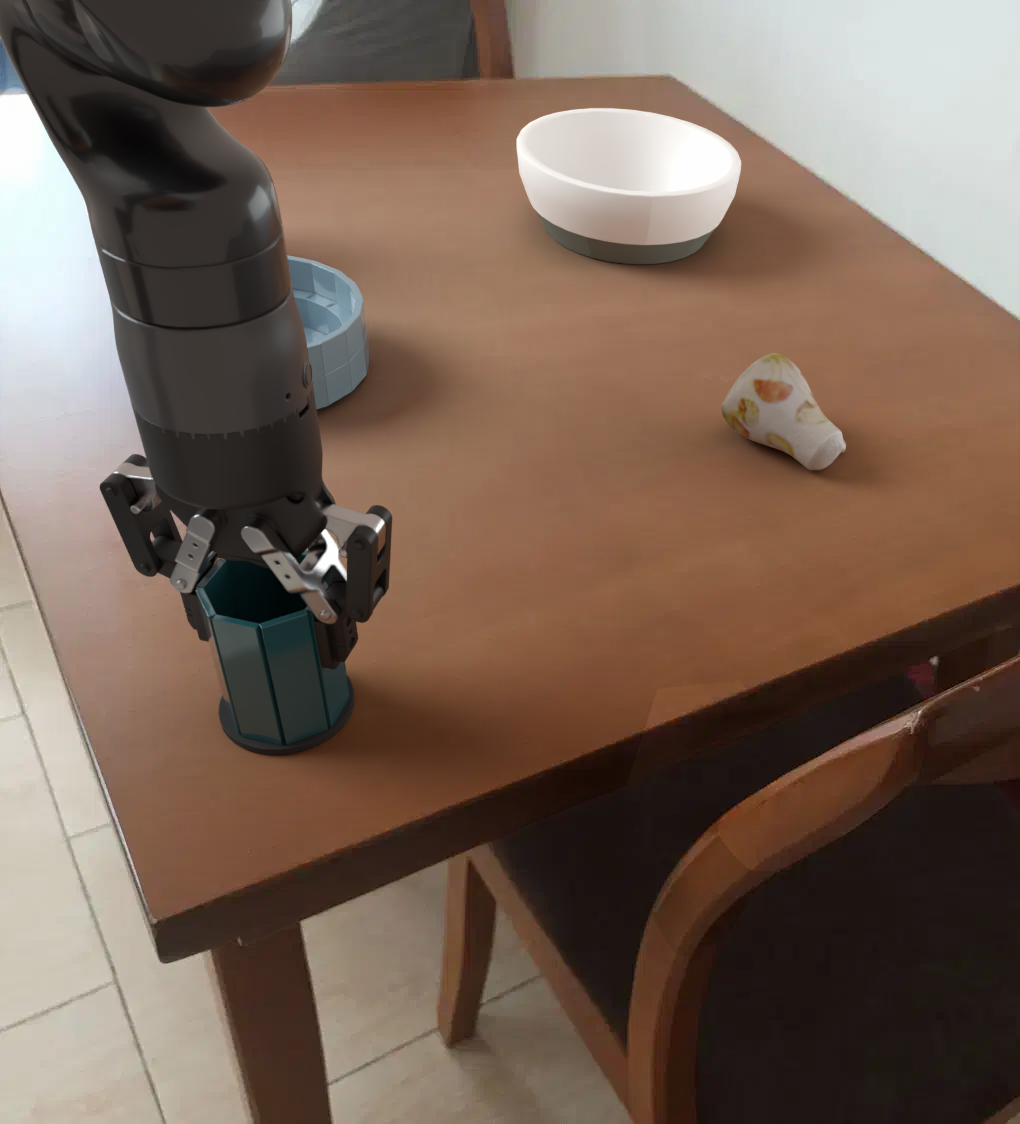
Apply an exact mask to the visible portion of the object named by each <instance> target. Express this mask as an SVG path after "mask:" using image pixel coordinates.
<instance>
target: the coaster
mask: <svg viewBox="0 0 1020 1124" xmlns="http://www.w3.org/2000/svg"><path fill="white" fill-rule="evenodd" d="M347 680H348V686H349V693H350V694H349V699H348V701H347V703H346V704H345V706H344V708H343V709H342V711H341V713H340V714H339V716H338V717H337V719H336V721H335V722H334V724H333V726H332V727H330V726H328V730H326V731H323V732H320V733H318V734H315V735H312V736H310V737H307V738H304V739H302V740H299V741H296V742H294V743H291V744H288V745H286V743H285V741H284V742H283V744H282V745H277V744H272V743H268V742H263V741H259V740H254V739H250V738H245V737H242V735H241V734H238V732H237V730H236V728H235V726H234V724H233V722H232V719H231V717H230V715H229V713H228V711H227V709H226V706H225V702H224V698H223V694H222V696H221V697H220V700H219V704H218V717H219V723H220V725H221V726H220V727H221V728H222V731H223V732H224V734H225V735H226V736H227V738H228V739H229V740H230V741H231V742H233V743H234V744H235V745H237V746H238V747H240V748H242V749H244V750H246V751H249V752H252V753H256V754H260V755H261V754H262V755H272V756H278V755H279V756H282V755H290V754H296V753H300V752H303V751H304V752H305V751H306V750H309V749H313V748H314V747H317V746H319V745H321V744H322V743H325V742H326V741H328V740H329V739H331V738H332V737H333V736H335V735H336V734H337V733H339V731H340V730H341V729H342V728H343V727H344V726H345V725H346V724H347V722H348V720H349V719H350V717H351V715H352V713H353V710H354V706H355V690H354V686H353V682H352V680H351V679H350V677H349V675H348V674H347Z"/></svg>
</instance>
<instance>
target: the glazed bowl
mask: <svg viewBox="0 0 1020 1124" xmlns="http://www.w3.org/2000/svg"><path fill="white" fill-rule="evenodd" d="M287 257H288V264H289V270H290V277H291V284H292V289H293V294H294V297H295V301H296V304H297V307H298V310H299V313H300V316H301V320H302V323H303V327H304V331H305V336H306V342H307V349H308V356H309V361H310V364H311V366H312V383H313V390H314V396H315V403H316V410H317V411H318V410H319V409H323V408H326V407H329V406H330V405H332V404H333V403H335V402H337V401H339V400H340V399H342V398H344V397H346V396H347V395H349V394H351V393H352V392H353V391H354V390H356V388H357V387H358V386H359V384H360V383H362V381H363V380H364V378H365V377H367V375H368V370H369V364H370V359H371V357H370V356H371V355H370V346H369V338H368V337H369V336H368V329H367V327H368V326H367V319H366V309H365V300H364V299H365V298H364V296H363V294H362V293H361V291H360V288H359V286H358V284H357V283H356V281H354V280H352V279H351V278H350V277H349V276H348V275H346V274H345V273H344V272H342V271H341V270H339V269H337V268H334V267H332V266H329V265H326V264H324V263H322V262H319V261H317V260H314V259H308V258H304V257H298V256H293V255H289V254H287Z"/></svg>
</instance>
